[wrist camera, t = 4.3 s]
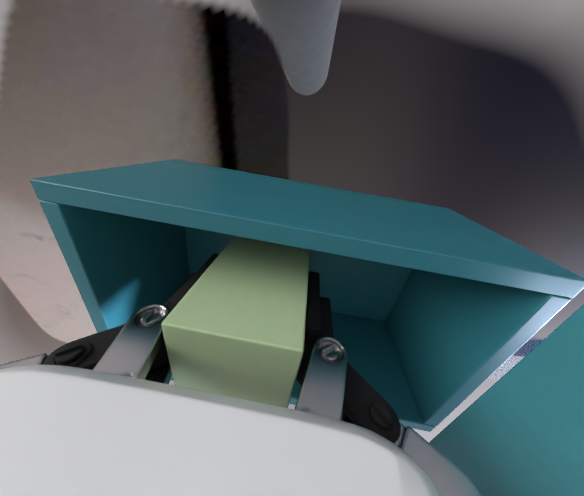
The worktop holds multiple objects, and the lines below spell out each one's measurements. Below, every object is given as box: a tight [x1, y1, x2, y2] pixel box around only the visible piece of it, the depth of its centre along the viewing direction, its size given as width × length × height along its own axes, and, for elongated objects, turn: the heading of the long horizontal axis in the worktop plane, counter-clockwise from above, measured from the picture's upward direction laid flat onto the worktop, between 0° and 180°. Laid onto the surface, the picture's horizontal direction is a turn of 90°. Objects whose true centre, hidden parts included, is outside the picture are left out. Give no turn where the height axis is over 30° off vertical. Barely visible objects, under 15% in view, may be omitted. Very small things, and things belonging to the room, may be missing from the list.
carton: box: [161, 236, 310, 408], centre depth 11 cm, size 4×4×9 cm
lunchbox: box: [30, 159, 584, 432], centre depth 12 cm, size 18×10×8 cm, turn 81°
